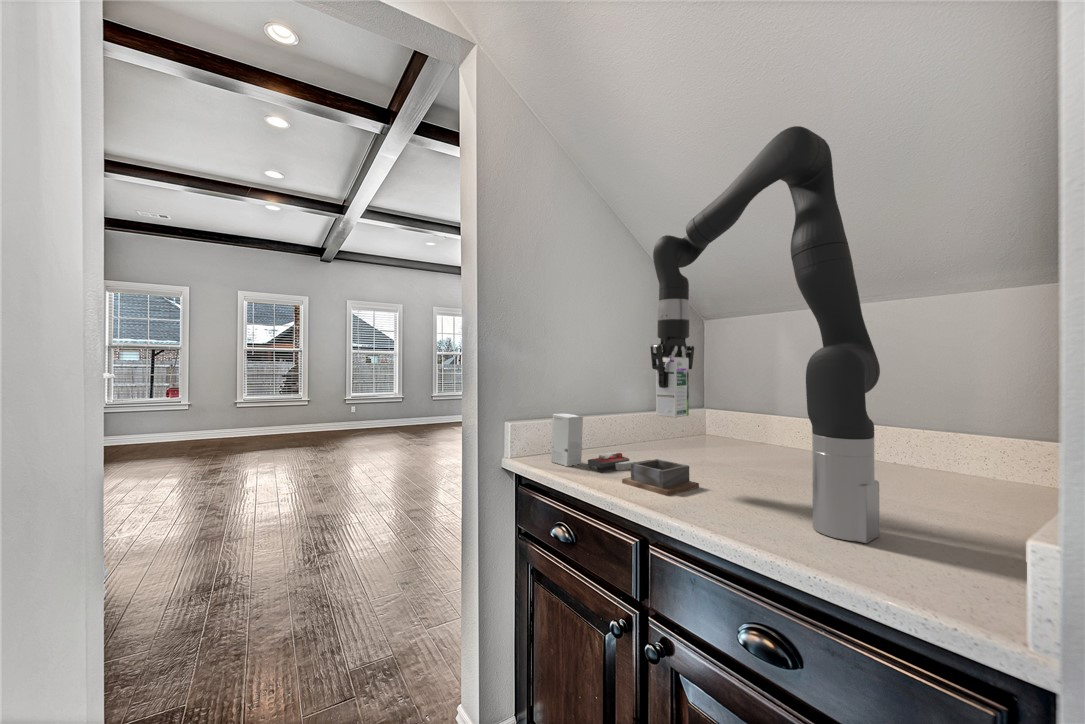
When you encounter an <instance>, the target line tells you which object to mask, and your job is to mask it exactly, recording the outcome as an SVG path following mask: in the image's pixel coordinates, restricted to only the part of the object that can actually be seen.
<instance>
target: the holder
mask: <svg viewBox="0 0 1085 724" xmlns="http://www.w3.org/2000/svg"><path fill="white" fill-rule="evenodd" d="M648 460H649V461H646V460H643V461H644V462H640V461H638V462H639V463H633V464H631V469H630V476H629V477H625V478H622V480H621V482H622V484H625V485H627V486H632V487H636V488H640V489H643V490H645V491H649V492H652V493H656V494H659V495H663V496H671V495H675V494H678V493H682V492H687V491H689V490H693V489H697V488H699V487H700V483H699V482H695V481H692V480H690V465H686V464H682V463H677V462H674V461H673V462H672V461H670V460H669V461H668V460H663V459H659V458H656V459H655V458H654V459H648Z"/></svg>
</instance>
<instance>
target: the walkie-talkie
mask: <svg viewBox="0 0 1085 724" xmlns="http://www.w3.org/2000/svg"><path fill="white" fill-rule="evenodd" d="M649 460H650V459H647V460H641V461H632V460H630V458H629V457H627V456H623V453H621V452H618V451H613V452H606V453H605V455H602V454H599V455H598V457H596V458H590V459H587V469H588V468H589V469H588V470H591V469H592V471H595V472H599V473H605V472H610V471H629V470H631V464H633V463H639V462H644V461H649Z"/></svg>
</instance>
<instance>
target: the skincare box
mask: <svg viewBox="0 0 1085 724" xmlns="http://www.w3.org/2000/svg"><path fill="white" fill-rule="evenodd" d="M583 421H584V417H583V416H581V415H577V414H572V413H553V414H552V425H551V427H552V429H551V451H550V453H551V454H550V462H551V463H553V464H557V463H558V464H557V465H562V466H565V467H571V466H572V465H574V466H578V465H577V464H580V465H582V454H583V452H582V450H583V427H584V426H583V424H584V422H583ZM572 467H573V466H572Z"/></svg>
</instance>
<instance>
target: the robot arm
mask: <svg viewBox="0 0 1085 724" xmlns="http://www.w3.org/2000/svg"><path fill="white" fill-rule="evenodd" d="M830 148H831V147H830V146H829V143H828V142H827V141H826V140H825V138H823V137H821V136H820V135H818V134H817V133H815V132H813V131H812V130H810V129H809V128H806V127H804V126H801V125H799V126H797V125H794V126H790V127H787V128H786V129H783V130H782V131H780V132H779V133H778V134H777V135H775V136H774V137H773V138H772V139H771V140H770V141H769V142H768V143H767V144H766V145H765V146H764V147H763V148H762V149H761V150H760V152H759V153H758V154H757V155H756V156H755V158H753V160H752V161H751V162H750V163H749V164H747V166H746V167H745V168H744V169H743V170H742V171H741V173H740V174H739V175H738V176H737V177H736V178H735V179H734V180H733V182H732V183H730V185H729V186H728V187H727V188H726V189H725V190H724V191H723V192H722V193H721V194H720V195H718V196H717V198H715V199H714V200H712V202H710V203H709V204H708V205H707V206H706V207H705V208H703V209H702V210H701V211H699V213H698V214H696V215H695V216H694V217H693V218H691V219H690V220H689V221H688V222H687V224H686V225H685V233H686V235H685V236H684V237H676V236H674V235H670V234H668V235H667V234H666V235H663V236H661V237H659V238H658V239H657V241H656V242H655V244H654V246H653V251H652V252H653V253H652V259H653V264H654V269H655V274H656V278H657V280H658V284H659V287H658V288H659V289H658V308H657V334H656V335H657V338H659V339H660V341H659V344H651V345H650V356H651V357H650V358H651V368H652V369H653V370H655V371H656V370H657V371H658V372H659V387H660V388H667V387H668V373H667V372H668V370H669V365H670V363H671V358H672V357H683V358H688V359H689V370H692V369H693V363H694V357H695V355H694V354H695V347H694V345H687V341H686V339H688V338H689V337H690V302H689V298H690V296H689V295H690V294H689V292H690V290H689V289H690V286H689V285H690V283H689V279H688V278H687V277H686V276H684V275H683V274H682V273H681V271H680V269H681V268H685V267H688V266H690V265H691V264H693V263H694V262H695V261H696V260H697V259H698V258H699V257H700V256H701V254H703V252H704V251H705V249H706V248H707V247H708V246H709V244H711V243H712V242H714V241H715V240H717V238H719V237H721V236H722V235H723V234H725V233H726V232H727V231H728V230H730V228H732V226H734V225H735V224H736V223H737V221H739V219H740V217H741V216H742V214H743V213H744V211H745V210H746V208H747V206H748V205H749V204H750V203H751V202H752V200H754V199H755V197H757V195H759V194H760V193H761V192H762V191H764V190H765V189H767V188H768V187H770V186H771V185H773V184H775V183H777V181H783V182H785V183H786V185H787V186H788V189H789V192H790V196H791V199H792V204H793V208H794V213H795V214H794V215H795V217H794V218H795V220H794V226H793V231H792V233H791V234H792V235H791V240H790V257H791V258H790V259H791V263H792V266H793V272H794V277H795V281H796V284H797V287H798V289H799V291H800V294H801V295H802V297H803V299H804V300H805V302H806V304H807V306H808V308H810V310H811V313H812V315H813V316H814V317H815V319H816V323H817V325H818V328H819V331H820V337H821V341H822V342H821V343H822V347H821V348H819V349H818V350H816V351H815V352H813V354H811V356H810V358H809V359H808V362H807V365H806V371H805V393H806V409H807V410H806V411H807V416H808V419H809V421H810V423H811V430H812V431H811V436H812V437H811V438H812V440H811V441H812V445H811V446H812V449H811V450H812V454H811V455H812V458H811V459H812V461H811V462H812V468H811V470H812V471H811V472H812V475H811V477H812V478H811V479H812V528H813V530H815V531H816V532H818V533H820V534H822V535H825V536H826V537H831V538H834V539H838V540H843V541H850V542H858V543H863V544H869V543H870V542H871V541H873V540H875V539H877V538H878V537H880V535H881V534H880V532H881V531H880V530H881V529H880V528H881V527H880V525H881V524H880V520H881V519H880V481H879V480H877V479H875V477H876V476H875V423H874V422H873V421H872V419H871V418H870V417H869V415H868V412H867V405H866V404H867V403H866V402H867V401H866V394H868V393H869V392H870V391H871V390H873V389H874V388H875V386H877V383H878V382H879V379H880V375H881V374H880V373H881V368H880V367H881V365H880V362H879V360H878V359H879V358H878V357H877V353H876V351H875V349H874V346H873V344H872V341H871V337H870V335H869V332H868V329H867V326H866V324H865V323H866V322H865V320H864V316H863V312H862V307H861V300H860V295H859V289H858V286H857V281H856V276H855V269H854V265H853V259H852V255H851V251H850V246H849V241H848V239H847V234H846V231H845V227H844V223H843V220H842V214H841V211H840V209H839V204H838V201H837V197H836V190H835V189H836V188H835V181H834V169H833V157H832V151H831V149H830ZM663 357H669V358H668V359H663ZM656 359H657V360H658V364H657V361H656ZM663 363H665V366H663Z"/></svg>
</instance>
